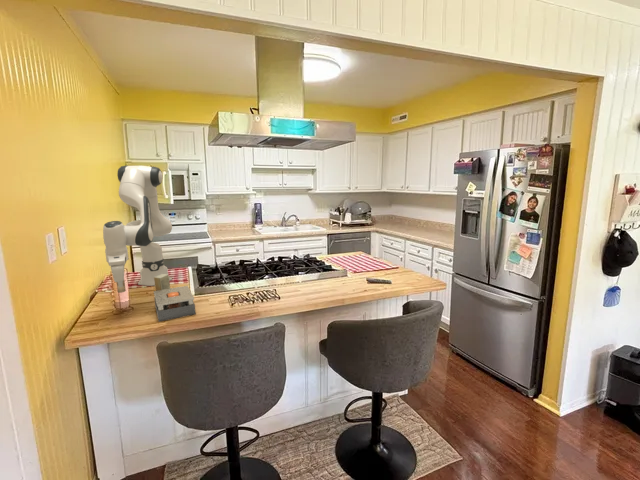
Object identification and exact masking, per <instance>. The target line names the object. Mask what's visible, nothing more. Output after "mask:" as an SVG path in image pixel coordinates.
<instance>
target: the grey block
mask: <svg viewBox="0 0 640 480" xmlns="http://www.w3.org/2000/svg"><path fill="white" fill-rule="evenodd" d="M116 287H117V293H121V294H122V293H125V292H126V282H125V280H124V281H123V287H119V286H118V282H116Z"/></svg>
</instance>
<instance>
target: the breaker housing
mask: <svg viewBox="0 0 640 480" xmlns="http://www.w3.org/2000/svg"><path fill="white" fill-rule="evenodd" d="M171 292H178V293H179V296H174V297H168V294H169V293H171ZM153 295H154V297H153V298H154V307H155V311H156V316H157V320H158V322H160V323H161V322H164V321H170V320H174V319H180V318H184V317H188V316H193V315H196V314H197V313H196V304H195V302H194V300H195V297H194V295H193V293H192V292H191V289H190V288H189V286H188V285H184V286H177V287H173V288H172V287H170V289H164V290H158V291H156V290H154V291H153Z"/></svg>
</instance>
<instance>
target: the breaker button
mask: <svg viewBox="0 0 640 480" xmlns="http://www.w3.org/2000/svg"><path fill="white" fill-rule="evenodd" d="M174 296H179V293H178V292H171V293H169V294H168V297H174Z"/></svg>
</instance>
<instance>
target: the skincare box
mask: <svg viewBox="0 0 640 480" xmlns="http://www.w3.org/2000/svg"><path fill="white" fill-rule="evenodd" d="M169 276H170V275H169V273H168V274H161V275H158V276H156V277H154V281H155V285H154V289H155V291H158V290H164V289H170V288H171V283H170V281H169Z"/></svg>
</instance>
